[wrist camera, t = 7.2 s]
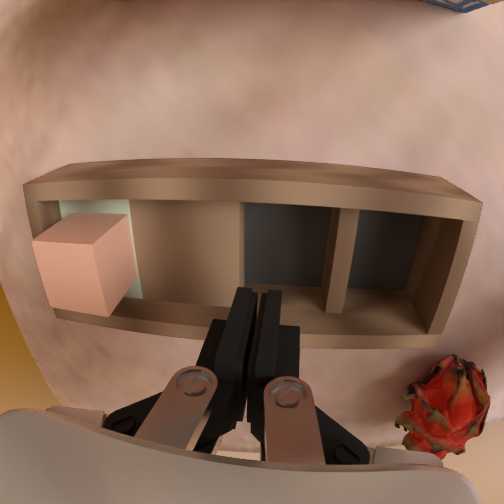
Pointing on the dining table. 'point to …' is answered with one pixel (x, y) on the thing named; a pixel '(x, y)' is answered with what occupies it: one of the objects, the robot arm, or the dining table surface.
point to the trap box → (276, 244)
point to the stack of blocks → (464, 4)
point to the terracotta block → (86, 262)
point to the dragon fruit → (446, 409)
